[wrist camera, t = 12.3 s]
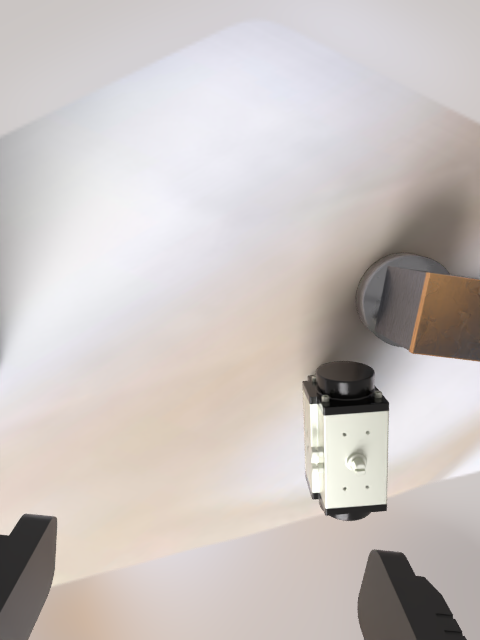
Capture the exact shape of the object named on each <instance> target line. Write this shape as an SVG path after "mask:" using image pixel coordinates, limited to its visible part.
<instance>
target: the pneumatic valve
mask: <svg viewBox="0 0 480 640" xmlns="http://www.w3.org/2000/svg"><path fill="white" fill-rule="evenodd" d="M374 380H375V373H374V370H373V369H372V368H371V367H369V366H367V365H365V364H362V363H357V362H350V361H337V362H330V363H326V364H323V365H321V366H319V367H318V368H317V370H316V375H311V376H308V381H303V411H304V442H305V474H306V480H307V484H308V487H309V490H310V494H311V497H312V499H319V504H320V507H321V508H322V510H323V511H324V513H325V515H329V516H331V517H333V518H336V519H339V520H345V521H355V520H359V519H362V518H365V517H366V516H368V515H369V514H370V513H371V512H378V511H386V510H387V473H388V424H389V402H388V401H387V400H386V399H385V397H384V396H383V395H382V392H380V391H379V390H378V389H377V388H376V387H375V385H374Z"/></svg>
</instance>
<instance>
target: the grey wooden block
mask: <svg viewBox="0 0 480 640" xmlns="http://www.w3.org/2000/svg"><path fill="white" fill-rule="evenodd" d="M375 331H376V332H377V333H379V334H381V335H383V336H384V337H386V338H388V339H390V340H392V341H393V342H395V343H397V344H399V345H400V346H402V347H404V348H406V349H407V350H409V352H411V353H413V354H422V355H430V356H438V357H447V358H455V359H463V360H472V361H480V280H477V279H472V278H466V277H460V276H455V275H449V274H442V273H435V272H428V271H421V270H414V269H407V268H400V267H393V266H388V267H387V272H386V277H385V282H384V287H383V292H382V296H381V301H380V306H379V311H378V316H377V321H376V326H375Z"/></svg>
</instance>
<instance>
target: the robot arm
mask: <svg viewBox="0 0 480 640" xmlns="http://www.w3.org/2000/svg"><path fill="white" fill-rule="evenodd" d="M56 536H57V518H56V517H53V516H43V515H33V514H24V515H23V516H22V517H21V518H20V520H19V521H18V523H17V524H16V526H15V527H14V529H13V530H12V532H11V534H10V535H9V536H7V535H0V640H28V638H29V636H30V634H31V632H32V629H33V627H34V625H35V623H36V621H37V619H38V616H39V614H40V612H41V609H42V607H43V605H44V603H45V601H46V599H47V596H48V594H49V591H50V588H51V584H52V580H53V576H54V570H55V554H56ZM358 618H359V624H360V628H361V630H362V634H363V637H364V640H467V639H466V638H465V636H463V635H462V631H461V629H460V627H459V625H458V623H457V622H456V620H455V619H453V614H452V613H451V611H450V609H449V607H448V606H447V604H446V602H445V600H444V598H443V596H442V595H441V594H440V593H439V592H438V591H437V590H436V589H435V588H434V587H433V585H432V584H431V583H429V581H428V580H426V578H425V577H421V576H415V574H414V572H413V570H412V568H411V566H410V564H409V562H408V560H407V558H406V557H405V555H404V554H403V553H401V552H393V551H383V550H372V551H371V552H370V555H369V558H368V561H367V566H366V569H365V573H364V577H363V581H362V585H361V589H360V593H359V597H358Z"/></svg>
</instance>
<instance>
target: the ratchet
mask: <svg viewBox="0 0 480 640" xmlns="http://www.w3.org/2000/svg"><path fill="white" fill-rule="evenodd" d="M388 266H393V267H400V268H407V269H414V270H421V271H428V272H435V273H442V274H449V272H448V271H447V270H446V269H445V268H444V267H443V266H442V265H441V264H440V263H438V262H436V261H434V260H432V259H430V258H427V257H423V256H419V255H415V254H411V253H396V254H392V255H389V256H386V257H384V258H382V259H380V260H378V261H377V262H375V263H374V264H373V265H372V266H371V267H370V268H369V269H368V270H367V271H366V272H365V274H364V275H363V277H362V278H361V280H360V283H359V285H358V288H357V293H356V307H357V311H358V314H359V317H360V319H361V320H362V322H363V324H364V325H365V326H366V327H367V328H368V329H369V330H370V331H371V332H373V333H374V334H375V335H376V336H377V337H378V338H380V339H381V340H383V341H384V342H386V343H388V344H391V345H394V346H398V347H402V346H400V345H399V344H397V343H395V342H393V341H392V340H390V339H388V338H386V337H384V336H383V335H381V334H379V333H377V332H376V331H375V326H376V321H377V316H378V311H379V306H380V301H381V296H382V292H383V287H384V282H385V277H386V272H387V267H388ZM449 275H450V274H449Z"/></svg>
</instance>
